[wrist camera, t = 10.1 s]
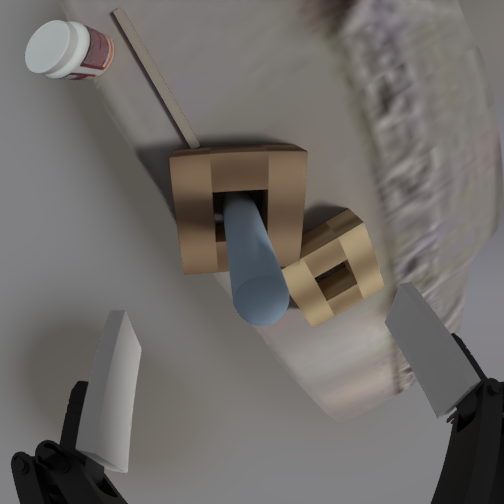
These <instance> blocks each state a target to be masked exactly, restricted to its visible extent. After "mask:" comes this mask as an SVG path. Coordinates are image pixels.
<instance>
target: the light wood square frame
mask: <svg viewBox="0 0 504 504" xmlns="http://www.w3.org/2000/svg"><path fill="white" fill-rule="evenodd" d="M298 261H299V260H298ZM341 262H344V264H345V267H344V268H342V269H340V270H339V271H337V272H335V273H333V274H332V275H330V276H328V277H326V278H325V279H323V280H321V281H319V282H318V283H317V281H316V280H315V277H317V276H319V275H321V274H322V273H324V272H326V271H328V270H329V269H331V268H333V267H335V266H336V265H338V264H340V263H341ZM298 264H299V265H298ZM298 264H297V261H296V264H295V263H293V264H291V265H289V266H287V267H280V268H281V270H282V273H283V276H284V278H285V281H286V283H287V286H288V289H289V294H290V295H291V297H292V298H293V300H294V301H295V302H296V304H297V305H298V307H299V308H300V310H301V311H302V313H303V314H304V316H305V317H306V319H307V320H308V322H309V323H310V324H311V326H312V327H313V328H314V327H316V326H317V325H319V324H321V323H323V322H325V321H327V320H329V319H330V318H332V317H334V316H336V315H338V314H339V313H341V312H343V311H345V310H347V309H348V308H350V307H352V306H353V305H355V304H357V303H359V302H360V301H362V300H364V299H365V298H367V297H369V296H370V295H372V294H374V293H375V292H377V291H379V290H380V289H382V288H383V287H384V283H383V280H382V276H381V273H380V270H379V266H378V263H377V260H376V257H375V254H374V251H373V248H372V245H371V242H370V239H369V236H368V233H367V230H366V227H365V224H364V222H363V221H362V220H361V219H360V218H359V217H358V216H356V215H355V214H354V213H353V212H352V211H351V210H350V209H349V208H348V209H347V210H345V211H343V212H342V213H340V214H338V215H336V216H335V217H333V218H331V219H330V220H328V221H326V222H324V223H323V224H321V225H319V226H318V227H316V228H314V229H312V230H311V231H309V232H307V233H305V234H304V235H302V240H301V251H300V261H299V262H298ZM296 265H297V266H296Z"/></svg>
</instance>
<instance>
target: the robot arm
mask: <svg viewBox="0 0 504 504" xmlns="http://www.w3.org/2000/svg"><path fill="white" fill-rule="evenodd" d="M385 324H386V325H387V327H388V328H389V330H390V332H391V333H392V335H393V337H394V339H395V340H396V342H397V344H398V345H399V347H400V349H401V351H402V352H403V354H404V356H405V358H406V359H407V361H408V363H409V365H410V366H411V368H412V370H413V372H414V374H415V376H416V377H417V379H418V381H419V383H420V385H421V387H422V388H423V391H424V392H425V394H426V396H427V398H428V400H429V402H430V404H431V406H432V408H433V410H434V412H435V414H436V416H437V418H438V419H439V418H441V417H442V416H444V415H446V414H448V413H449V412H450V411H452V410H453V409H454V408H455V407H456V408H457V410H456V411H455V412H454V413H453V414H452V415H451V416H450V417H449V418H448V419H447V423H448V422H449V421H451V420H452V419H453V418H454V419H453V420H452V422H451V424H453V426H452V431H451V436H450V441H449V445H448V450H447V454H446V457H445V461H444V465H443V468H442V472H441V475H440V478H439V481H438V484H437V487H436V490H435V493H434V496H433V499H432V501H431V504H504V382H498V381H497V380H496V379H494V378H489V379H488V378H487V377H486V376H485V374H484V373H483V371H482V370H481V368H480V367H479V365H478V363H477V362H476V360H475V359H474V357H473V356H472V355H471V353H470V351H469V350H468V349H467V348H466V345H465V344H464V343H463V341H462V340H461V339H460V338H459V337H458V336H457V335H455V334H454V333H452V334H450V333H449V331H448V330H447V328H446V327H445V326H444V324H443V323H442V322H441V320H440V319H439V318H438V316H437V315H436V314H435V312H434V311H433V310H432V308H431V307H430V306H429V304H428V303H427V302H426V300H425V299H424V298H423V297H422V295H421V294H420V293H419V292H418V290H417V289H416V288H415V287H414V285H413V284H412V283H411V282H410V283H404V284H400V285H399V288H398V291H397V293H396V296H395V298H394V301H393V304H392V306H391V309H390V311H389V313H388V316H387V318H386V321H385ZM140 356H141V347H140V344H139V342H138V340H137V338H136V335H135V333H134V331H133V328H132V326H131V324H130V321H129V319H128V316H127V314H126V311H125V310H119V311H118V310H116V311H115V310H113V311H110V313H109V315H108V319H107V322H106V324H105V328H104V331H103V334H102V337H101V340H100V343H99V347H98V350H97V354H96V357H95V361H94V364H93V368H92V372H91V375H90V379H89V382H86V381H78V382H77V383H76V385H75V386H74V388H73V389H72V391H71V395H70V399H69V404H68V407H67V413H66V415H65V420H64V425H63V430H62V435H61V440H60V444H57V443H55V442H54V441H51V440H45V441H43V442H41V443H40V444H39V445H38V446H37V448H36V451H35V456H30V455H28V454H26V453H25V452H17V453H15V454H14V456H13V457H12V461H11V468H12V473H13V478H14V482H15V486H16V490H17V494H18V498H19V501H20V504H128V503H127V502H126V501H125V500H124V498H123V497H122V496H121V495H120V493H119V492H118V491H117V489H116V488H115V487H114V485H113V484H112V483H111V481H110V480H109V478H108V477H107V476H106V474H105V473H104V467H105V468H107V469H109V470H112V471H117V472H124V473H128V459H129V458H128V457H129V444H130V431H131V422H132V412H133V403H134V396H135V388H136V381H137V374H138V367H139V361H140Z"/></svg>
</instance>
